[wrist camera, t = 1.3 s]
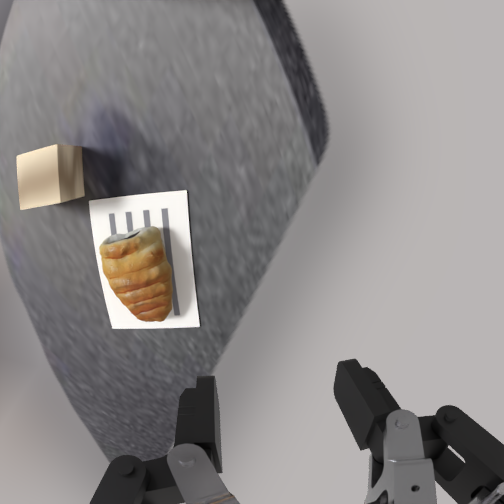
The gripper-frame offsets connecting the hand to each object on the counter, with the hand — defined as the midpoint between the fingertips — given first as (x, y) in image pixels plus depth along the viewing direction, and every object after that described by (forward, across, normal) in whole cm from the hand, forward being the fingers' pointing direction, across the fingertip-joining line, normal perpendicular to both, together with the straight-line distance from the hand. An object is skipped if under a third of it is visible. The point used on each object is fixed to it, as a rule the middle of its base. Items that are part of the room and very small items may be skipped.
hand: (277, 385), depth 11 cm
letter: (+17, +10, 0) cm, 20 cm away
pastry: (+18, +10, 0) cm, 20 cm away
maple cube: (+18, +18, -10) cm, 27 cm away
